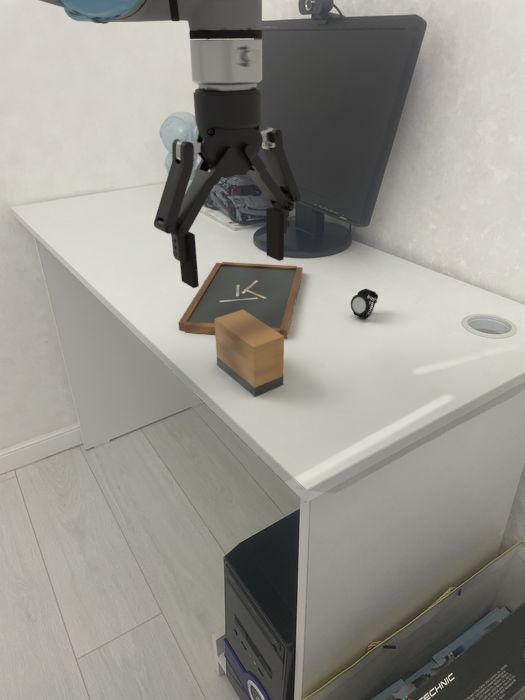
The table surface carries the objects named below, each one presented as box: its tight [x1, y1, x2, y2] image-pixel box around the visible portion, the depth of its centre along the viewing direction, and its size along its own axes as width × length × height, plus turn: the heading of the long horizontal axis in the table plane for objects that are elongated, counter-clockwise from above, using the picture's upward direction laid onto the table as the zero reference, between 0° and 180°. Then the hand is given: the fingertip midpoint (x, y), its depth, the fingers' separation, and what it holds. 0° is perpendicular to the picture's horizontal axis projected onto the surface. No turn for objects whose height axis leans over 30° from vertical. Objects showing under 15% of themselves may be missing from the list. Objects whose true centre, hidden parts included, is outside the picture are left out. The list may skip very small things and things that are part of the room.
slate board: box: [178, 261, 304, 339], centre depth 98 cm, size 18×28×2 cm, turn 171°
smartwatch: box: [350, 288, 379, 319], centre depth 90 cm, size 4×5×5 cm
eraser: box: [214, 310, 285, 397], centre depth 74 cm, size 10×5×8 cm, turn 35°
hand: (234, 270), depth 67 cm, fingers open, 13 cm apart
